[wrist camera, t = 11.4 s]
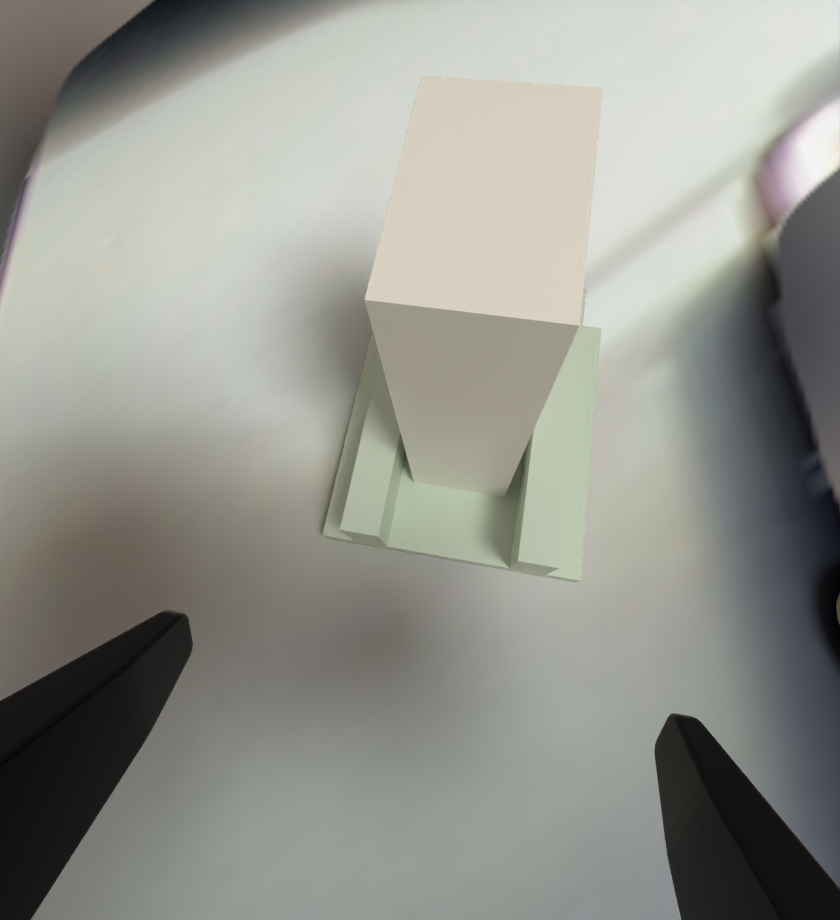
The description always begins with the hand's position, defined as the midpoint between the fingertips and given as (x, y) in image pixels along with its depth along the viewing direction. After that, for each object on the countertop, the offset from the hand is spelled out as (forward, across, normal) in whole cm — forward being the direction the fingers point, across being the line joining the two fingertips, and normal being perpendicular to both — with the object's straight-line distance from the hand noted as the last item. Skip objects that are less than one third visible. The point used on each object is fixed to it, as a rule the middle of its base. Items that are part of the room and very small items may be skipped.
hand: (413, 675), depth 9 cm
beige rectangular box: (+14, 0, +1) cm, 15 cm away
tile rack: (+15, 0, +2) cm, 15 cm away
